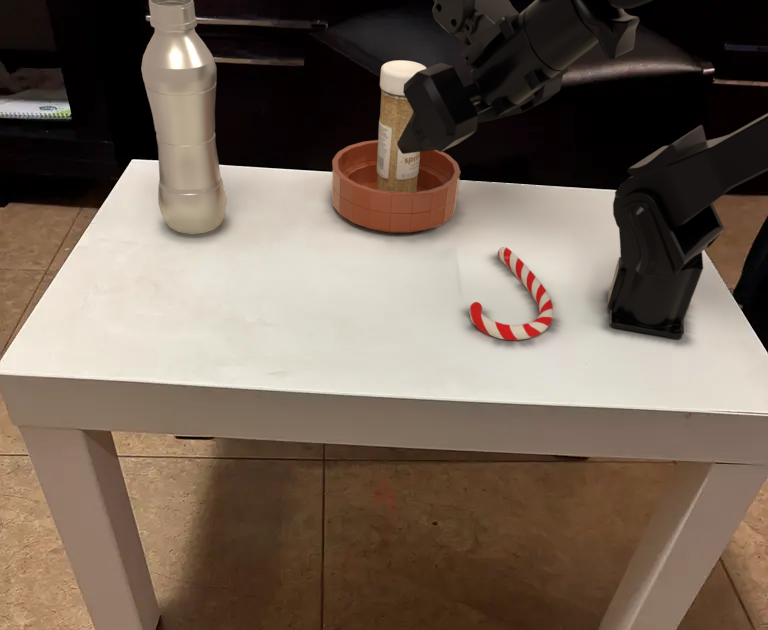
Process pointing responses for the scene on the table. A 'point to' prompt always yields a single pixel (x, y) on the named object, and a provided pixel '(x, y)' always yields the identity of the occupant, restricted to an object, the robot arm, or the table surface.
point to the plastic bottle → (184, 119)
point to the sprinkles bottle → (395, 129)
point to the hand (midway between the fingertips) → (429, 135)
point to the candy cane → (536, 291)
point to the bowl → (393, 209)
